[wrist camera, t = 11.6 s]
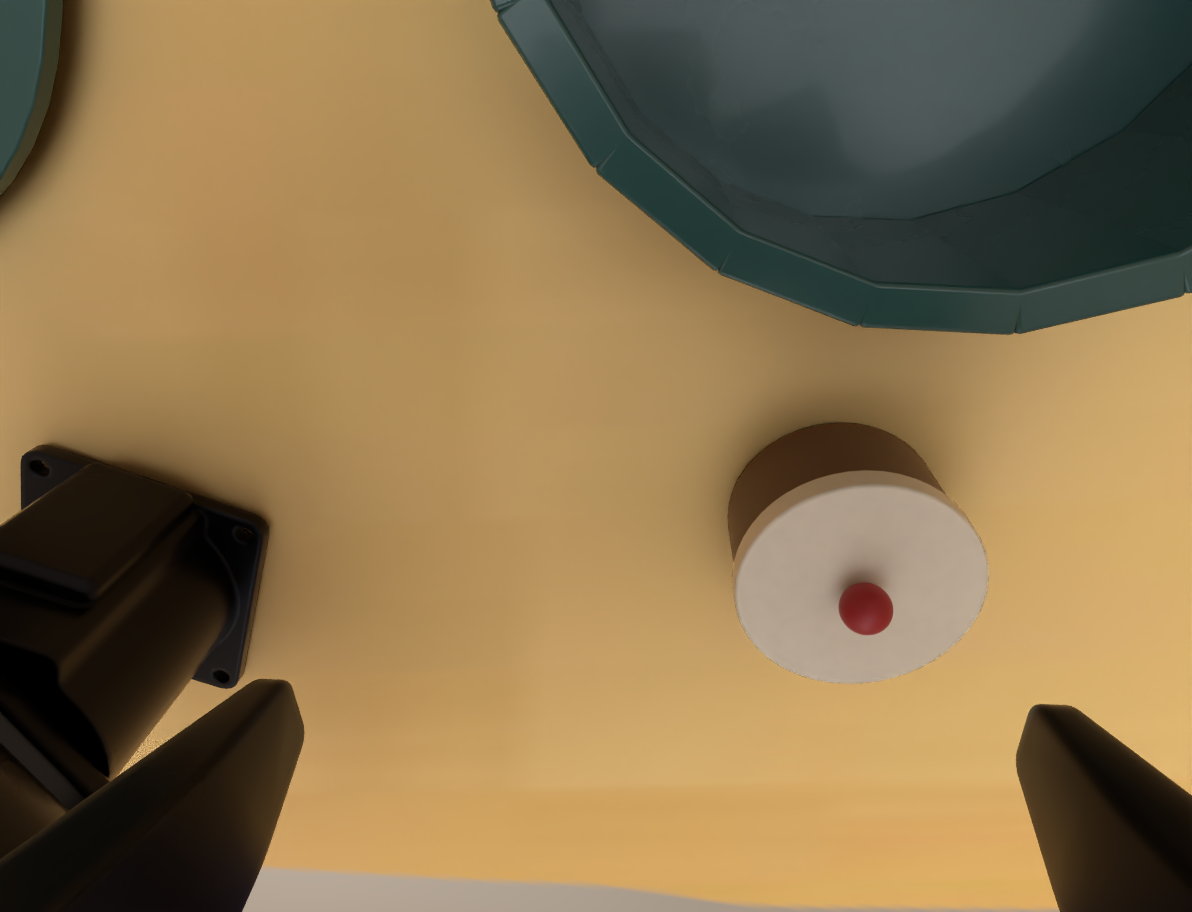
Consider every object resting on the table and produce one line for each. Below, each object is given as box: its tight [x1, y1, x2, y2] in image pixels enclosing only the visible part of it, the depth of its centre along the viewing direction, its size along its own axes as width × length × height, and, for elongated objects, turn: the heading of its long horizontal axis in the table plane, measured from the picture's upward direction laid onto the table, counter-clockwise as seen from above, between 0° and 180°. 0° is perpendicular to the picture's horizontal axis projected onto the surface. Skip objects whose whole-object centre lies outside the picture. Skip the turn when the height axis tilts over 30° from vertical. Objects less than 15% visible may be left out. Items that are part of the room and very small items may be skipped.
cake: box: [728, 423, 989, 684], centre depth 17 cm, size 5×5×4 cm
